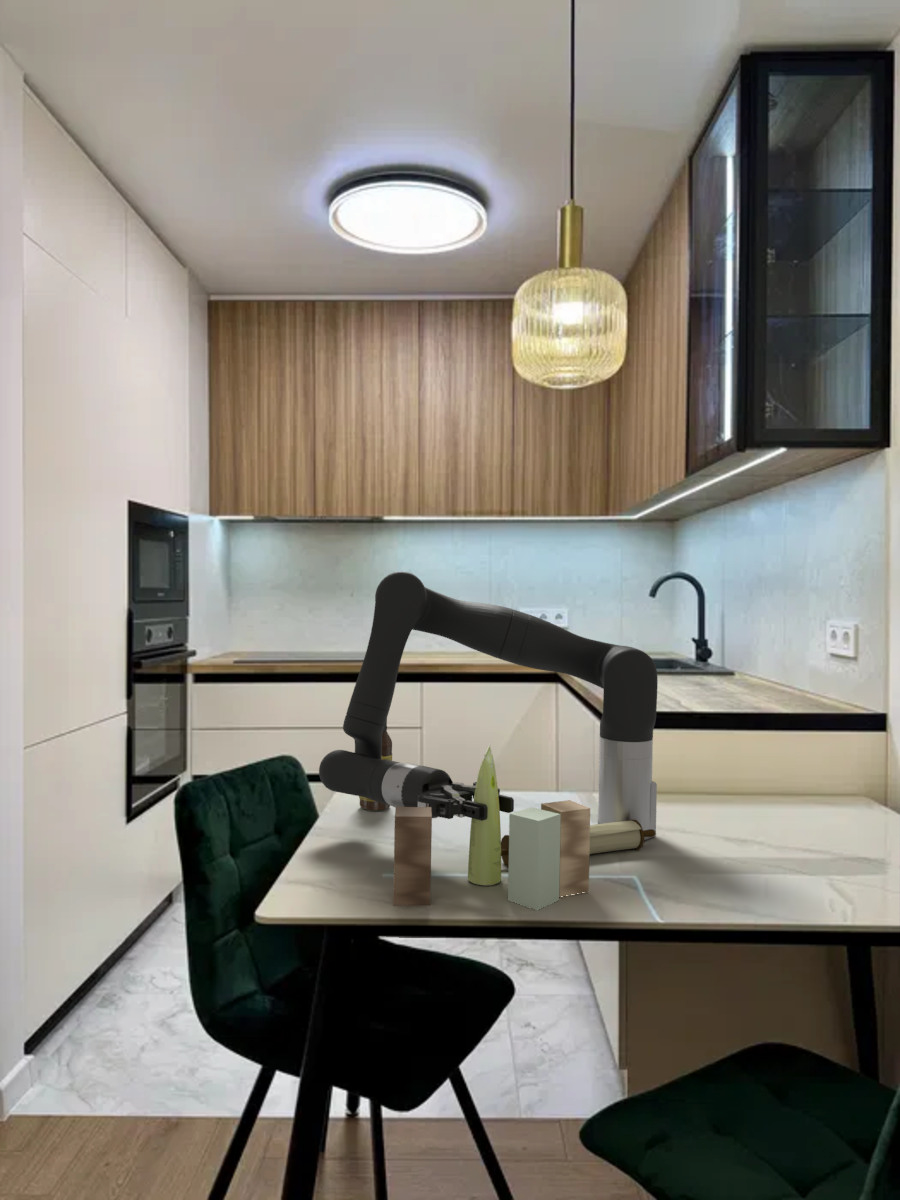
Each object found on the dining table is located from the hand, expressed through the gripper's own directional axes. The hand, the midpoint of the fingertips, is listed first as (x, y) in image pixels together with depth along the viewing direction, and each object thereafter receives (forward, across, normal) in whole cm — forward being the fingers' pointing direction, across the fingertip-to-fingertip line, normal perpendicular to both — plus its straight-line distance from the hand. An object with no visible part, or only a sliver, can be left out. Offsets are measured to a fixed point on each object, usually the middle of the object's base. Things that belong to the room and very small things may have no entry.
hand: (499, 809), depth 119 cm
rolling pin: (0, +19, +12) cm, 22 cm away
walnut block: (-5, -12, +11) cm, 17 cm away
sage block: (+7, -1, +11) cm, 13 cm away
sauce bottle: (-44, +16, +11) cm, 48 cm away
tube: (-3, 0, +11) cm, 11 cm away
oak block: (+8, +6, +11) cm, 15 cm away
